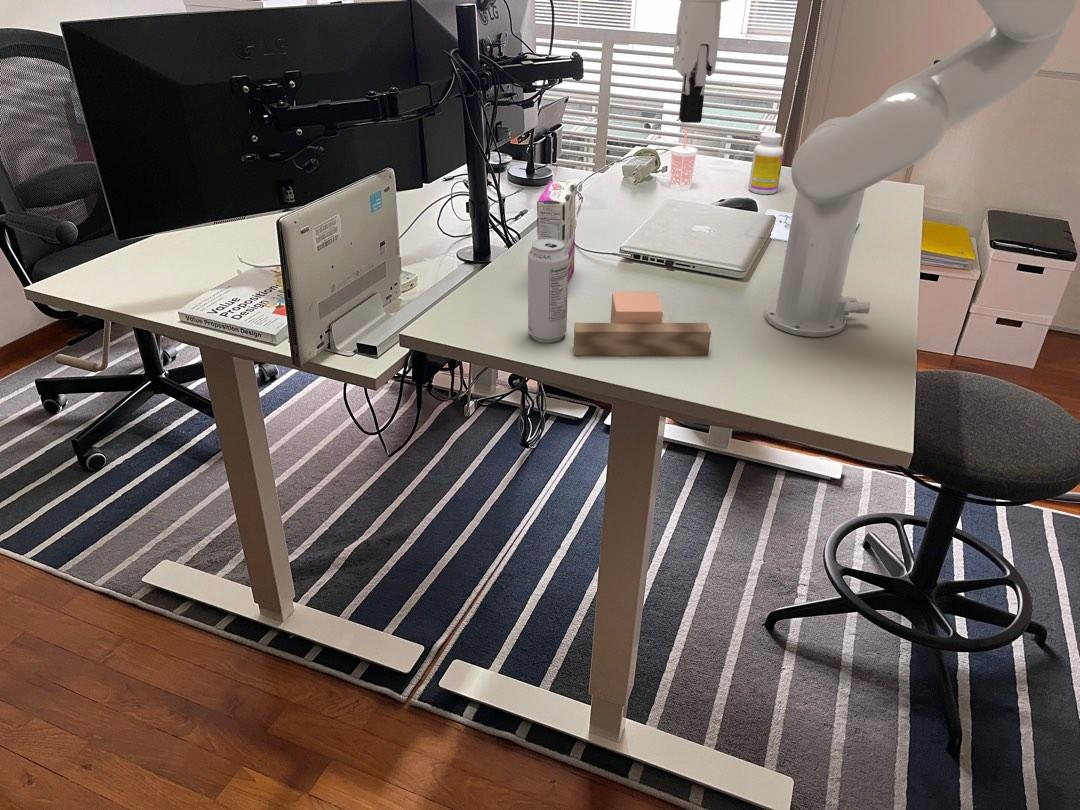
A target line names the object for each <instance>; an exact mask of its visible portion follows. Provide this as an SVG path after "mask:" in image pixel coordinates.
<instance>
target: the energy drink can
mask: <svg viewBox="0 0 1080 810" xmlns="http://www.w3.org/2000/svg"><path fill="white" fill-rule="evenodd" d="M568 259H569V255H568V253H567V251H566V249H565V244H564V242H563V241H561V240H558V239H551V238H544V239H538V238H537V239H536V240H533V241H532V243H531V248H530V250H529V252H528V254H527V331H528V333H529V334H530V335H531V337H532V339H533V340H535V341H537V342H540V343H545V344H546V343H547V344H548V343H556V342H559V341H560V340H562V339H563V337H564V335H565V334H566V333H567V325H568V295H569V293H568V291H569V290H568V289H569V283H568Z"/></svg>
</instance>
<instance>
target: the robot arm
mask: <svg viewBox="0 0 1080 810" xmlns="http://www.w3.org/2000/svg"><path fill="white" fill-rule="evenodd" d="M679 1H680V5H679V11H678V16H677V24H676V30H675V31H676V32H675V40H674V47H673V48H674V49H673V56H672V66H673V67H674V69H675V70H676V71H677V73H678V74H679V75H680V76H682V85H681V86H682V87H681V91H682V92H681V95H680V103H679V112H678V114H679V115H678V119H679V121H680V123H683V124H684V123H686V124H688V123H689V124H692V123H694V124H695V123H696V124H699V123H701V122H702V119H703V109H704V101H705V100H704V99H705V88H706V81H707V76H708V77H711V76H713V74H714V73H715V70H716V65H717V60H718V59H717V58H718V48H719V38H720V29H721V19H722V16H721V13H722V12H721V11H722V3H724V2H728V1H729V0H679ZM976 1H977V3H978V4H979V5H980V7H981V8H982V10H984V12H985V13H986V14H987V15H988V17H989V18H990V20H991V21H992V22H991V24H990V25H989V26H988V27H987V28H986V30H985V31H983V32H982V33H981V34H979V36H978V37H976V38H975V39H974V40H972V41H971V42H969V43H968V44H966V45H964V46H962V47H961V48H959V49H957V50H955V51H954V52H953V53H951V54H949V55H948V56H946V57H945V58H943V59H941V60H939V61H937V62H936V63H934V64H932V65H930V66H928V67H926V68H925V69H922V70H921V71H919V72H917V73H916V74H914V75H912V76H909V77H908V78H906V79H904V80H901V81H899V82H897V83H894V84H893V85H892V86H891V87H889V88H888V89H886V90H885V91H884V92H883V94H882V95H881V97H879V99H878V100H876V101H875V102H873V103H872V104H870V105H868V106H866V107H865V108H863V109H862V110H859V111H857V112H856V113H854V114H853V115H850V116H849V117H847V116H841V117H840V116H838V117H834V118H830V119H827V120H826V121H823V122H822V123H820V124H819V125H818V126H817V127H815V129H813V130H812V131H811V132H810V134H809V135H808V136H807V137H806V138H805V140H804V141H803V143H802V144H801V145H800V147H799V148H798V149H797V151H796V153H795V155H794V157H793V160H792V163H791V167H790V169H791V171H790V172H791V180H792V184H793V186H794V188H795V189H796V194H795V198H794V199H795V200H794V204H793V209H792V213H793V214H792V220H791V225H790V231H789V237H788V243H787V242H786V243H787V244H786V249H785V255H784V261H783V267H782V273H781V279H780V285H779V289H778V290H779V291H778V295H777V300H773V301H772V302H770V303H769V304H768V305H767V306H766V309H765V312H764V317H765V319H766V321H767V322H768V323H769V324H770V325H771V326H773V327H775V328H776V329H778V330H780V331H783V332H785V333H789V334H792V335H796V336H801V337H802V336H803V337H807V338H808V337H812V338H813V337H815V338H816V337H817V338H818V337H819V338H820V337H829V336H832V335H837V334H839V333H840V332H842V331H843V330H844V329H845V327H846V324H847V317H846V316H849V315H850V314H869V313H870V309H871V306H870V302H869V301H857V297H856V296H843V289H844V284H845V280H846V274H847V271H848V266H849V261H850V258H851V252H852V248H853V243H854V239H855V236H856V235H855V234H856V232H857V231H856V229H857V228H858V226H857V222H858V219H859V218H860V212H861V208H862V203H863V199H864V196H865V191H866V189H867V188H870V187H872V186H874V185H876V184H879V182H882V181H884V180H886V179H888V178H890V177H892V176H894V175H896V174H899V173H900V172H902V171H904V170H905V169H908V168H909V167H912V166H913V165H915V164H917V163H918V162H921V161H922V160H923V159H924V158H925V157H927V156H929V154H930V153H932V152H933V151H934V150H935V149H936V148H937V146H938V145H939V143H940V142H941V140H942V138H943V137H944V134H945V132H946V131H948V130H950V129H952V128H953V127H955V126H957V125H959V124H960V123H962V122H964V121H966V120H968V119H970V118H971V117H973V116H976V115H977V114H979V113H980V112H982V111H984V110H986V109H987V108H989V107H991V106H993V105H994V104H997V103H998V102H1000V101H1002V100H1003V99H1005V98H1007V97H1008V96H1010V95H1011V94H1014V93H1015V92H1016V91H1017V90H1019V89H1020V88H1022V87H1023V86H1024V85H1025V84H1026V83H1028V82H1029V81H1030V80H1031V79H1033V77H1034V76H1035V75H1036V74H1037V73H1038V72H1039V71H1040V70H1041V69H1042V68H1043V67H1044V65H1046V63H1047V62H1048V60H1049V58H1050V57H1051V56H1052V54H1053V52H1054V51H1055V49H1056V48H1057V46H1058V44H1059V43H1060V41H1061V39H1062V37H1063V34H1064V32H1065V29H1066V26H1067V24H1068V22H1069V21H1070V20H1071V19H1072V16H1073V15H1074V13H1075V11H1076V9H1077V5H1078V2H1079V0H976ZM856 227H857V228H856Z"/></svg>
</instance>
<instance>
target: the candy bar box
mask: <svg viewBox="0 0 1080 810" xmlns="http://www.w3.org/2000/svg"><path fill="white" fill-rule="evenodd" d="M576 185H577V182H572V181H562V180H561V181H557V180H551V181H549V182H548V183H547V185H546V187H545V188H544V190H543V192H542V193H541V195H540V196H539V198H538V199H537V201H536V206H537V207H536V209H537V210H536V211H537V212H536V213H537V214H536V215H537V218H536V219H537V220H536V221H537V222H536V223H537V228H536V230H537V231H536V232H537V233H536V234H537V235H536V236H537V240H538V239H544V238H551V239H558V240H561V241H563V242H564V244H565V249H566V251H567V253H568V255H569V259H568V284H569V282H570V280H571V278H572V275H573V274H574V272H575V252H576V250H575V249H576V247H575V246H576V245H575V242H576V237H575V236H576V195H577V193H576V192H577V191H576Z"/></svg>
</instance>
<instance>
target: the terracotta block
mask: <svg viewBox="0 0 1080 810" xmlns="http://www.w3.org/2000/svg"><path fill="white" fill-rule="evenodd" d="M611 294H612V295H611V304H610V305H611V307H610V322H609V323H663V315H664V311H663V307H662V303H661V300H660V297H659V295H658V292H655V291H654V292H651V291H650V292H647V291H644V292H643V291H638V292H636V291H633V292H631V291H615V292H614V291H612V293H611Z"/></svg>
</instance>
